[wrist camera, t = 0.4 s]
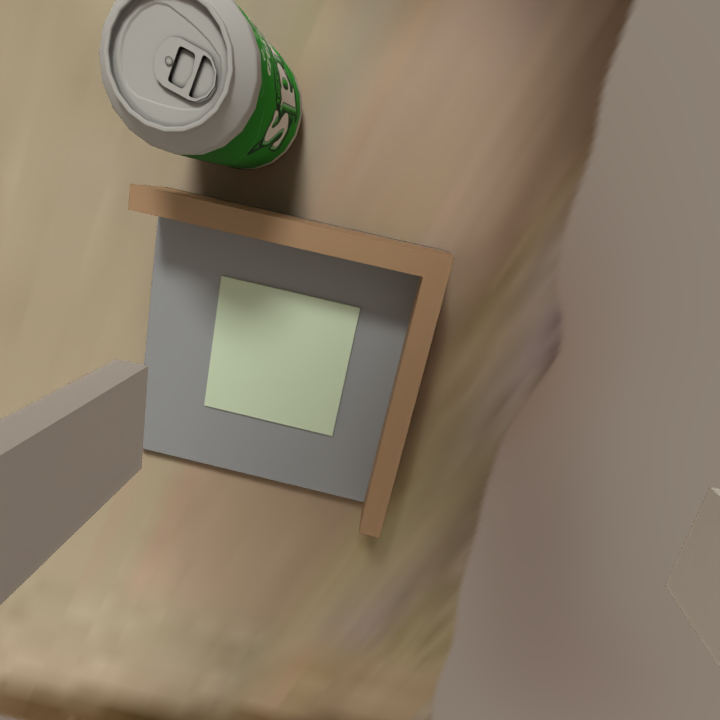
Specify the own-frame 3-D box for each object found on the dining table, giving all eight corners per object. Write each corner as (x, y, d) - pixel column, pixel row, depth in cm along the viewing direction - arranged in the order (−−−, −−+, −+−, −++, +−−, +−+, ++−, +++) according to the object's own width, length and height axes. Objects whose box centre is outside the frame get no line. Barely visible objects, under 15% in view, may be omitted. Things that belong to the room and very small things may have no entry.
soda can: (277, 191, 35) (212, 182, 24) (178, 137, 35) (64, 102, 23) (325, 81, 33) (279, 13, 22) (219, 23, 33) (116, -78, 21)
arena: (167, 187, 36) (130, 184, 31) (448, 251, 35) (453, 257, 30) (142, 441, 42) (108, 471, 37) (382, 499, 41) (379, 538, 36)
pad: (222, 275, 36) (221, 275, 36) (360, 307, 36) (360, 308, 36) (205, 404, 39) (204, 405, 39) (332, 434, 39) (332, 436, 39)
